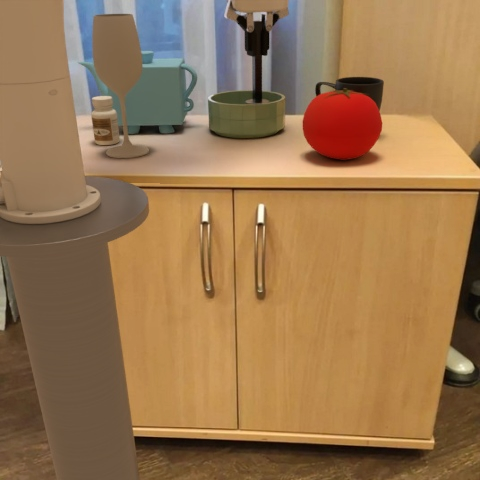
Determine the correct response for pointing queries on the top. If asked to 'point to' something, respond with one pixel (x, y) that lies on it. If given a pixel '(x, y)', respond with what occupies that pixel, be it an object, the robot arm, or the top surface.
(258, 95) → the square post on disc
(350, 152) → the tomato
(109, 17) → the wineglass
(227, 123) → the bowl
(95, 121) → the pill bottle
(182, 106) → the teapot
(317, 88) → the mug
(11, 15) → the robot arm
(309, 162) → the top surface
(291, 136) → the top surface
